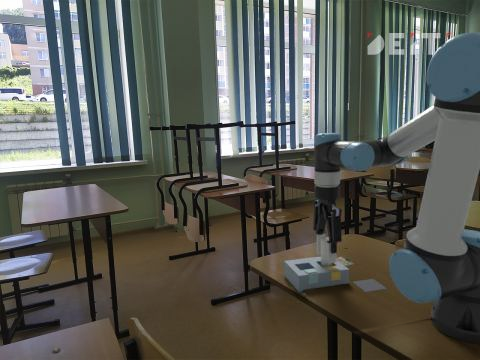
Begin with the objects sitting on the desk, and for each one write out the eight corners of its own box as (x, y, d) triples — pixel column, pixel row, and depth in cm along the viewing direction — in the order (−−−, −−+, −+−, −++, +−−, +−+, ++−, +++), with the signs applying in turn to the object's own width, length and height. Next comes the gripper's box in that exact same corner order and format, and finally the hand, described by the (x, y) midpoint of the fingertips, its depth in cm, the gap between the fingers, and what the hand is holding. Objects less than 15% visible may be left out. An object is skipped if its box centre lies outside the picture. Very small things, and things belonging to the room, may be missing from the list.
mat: (386, 290, 109) (387, 288, 109) (365, 293, 107) (365, 291, 107) (372, 280, 116) (372, 278, 116) (352, 283, 114) (352, 281, 114)
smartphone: (304, 265, 130) (304, 261, 130) (342, 259, 135) (342, 256, 135) (315, 274, 123) (315, 270, 123) (355, 267, 127) (355, 264, 127)
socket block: (349, 285, 113) (349, 268, 112) (299, 292, 109) (299, 275, 108) (329, 269, 125) (330, 254, 124) (284, 275, 121) (284, 260, 120)
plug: (333, 277, 117) (334, 239, 115) (323, 278, 116) (324, 241, 114) (328, 272, 120) (329, 236, 118) (318, 274, 119) (319, 237, 117)
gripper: (355, 189, 105) (354, 268, 108) (323, 179, 123) (323, 246, 127) (331, 191, 103) (330, 271, 107) (302, 180, 122) (302, 249, 125)
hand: (326, 258), depth 117 cm, fingers open, 7 cm apart
